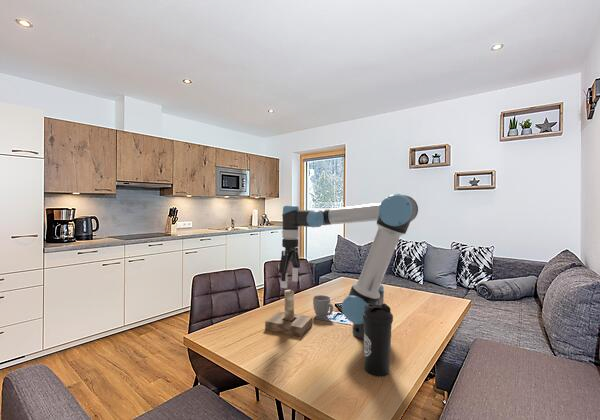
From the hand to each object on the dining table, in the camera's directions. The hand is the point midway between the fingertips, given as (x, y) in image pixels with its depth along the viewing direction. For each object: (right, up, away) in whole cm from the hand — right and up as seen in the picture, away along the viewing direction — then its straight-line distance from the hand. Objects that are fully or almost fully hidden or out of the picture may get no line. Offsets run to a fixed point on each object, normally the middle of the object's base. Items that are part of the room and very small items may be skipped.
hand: (289, 284), depth 141 cm
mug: (+17, -20, +14) cm, 30 cm away
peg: (0, -19, 0) cm, 19 cm away
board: (0, -20, 0) cm, 20 cm away
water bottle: (+32, -22, -35) cm, 52 cm away
